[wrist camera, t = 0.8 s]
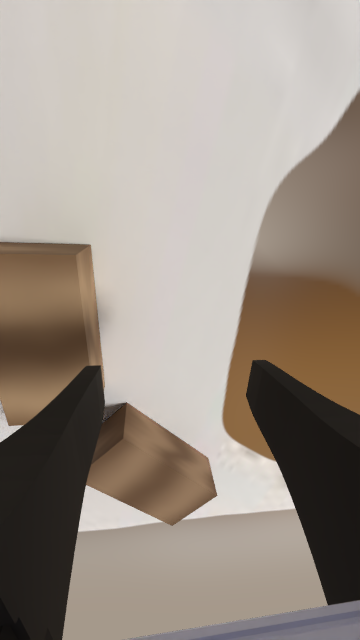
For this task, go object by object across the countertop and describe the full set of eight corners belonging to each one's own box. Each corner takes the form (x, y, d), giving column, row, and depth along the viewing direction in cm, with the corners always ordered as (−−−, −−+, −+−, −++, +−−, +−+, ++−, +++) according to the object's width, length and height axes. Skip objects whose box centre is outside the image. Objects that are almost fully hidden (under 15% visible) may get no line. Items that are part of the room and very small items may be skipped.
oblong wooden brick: (208, 457, 28) (217, 495, 24) (169, 485, 29) (172, 525, 25) (126, 402, 23) (123, 438, 20) (84, 438, 25) (73, 478, 21)
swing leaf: (107, 410, 23) (99, 452, 19) (38, 414, 23) (15, 459, 19) (90, 244, 17) (73, 256, 13) (-5, 242, 16) (-53, 253, 12)
